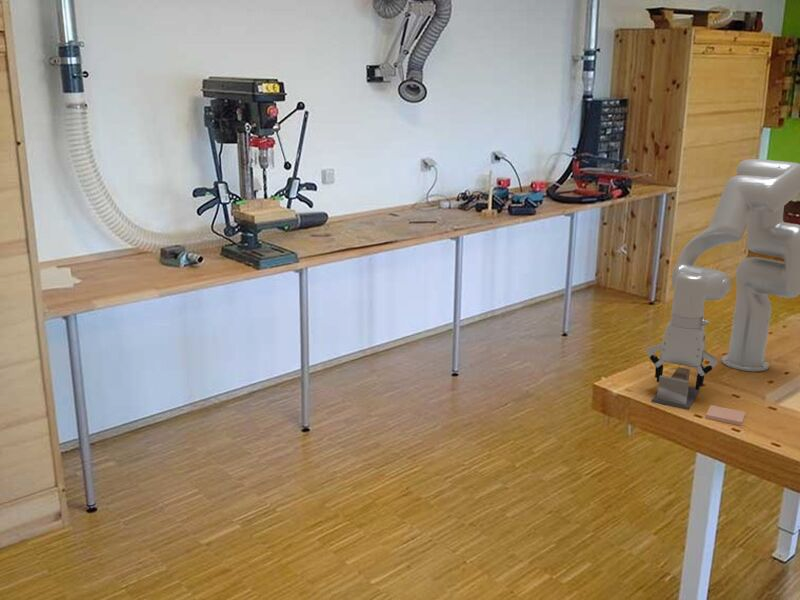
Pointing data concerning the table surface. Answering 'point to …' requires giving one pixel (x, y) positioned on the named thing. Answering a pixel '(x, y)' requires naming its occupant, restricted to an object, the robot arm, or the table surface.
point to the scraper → (674, 386)
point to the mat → (690, 398)
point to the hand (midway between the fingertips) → (678, 384)
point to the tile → (725, 415)
